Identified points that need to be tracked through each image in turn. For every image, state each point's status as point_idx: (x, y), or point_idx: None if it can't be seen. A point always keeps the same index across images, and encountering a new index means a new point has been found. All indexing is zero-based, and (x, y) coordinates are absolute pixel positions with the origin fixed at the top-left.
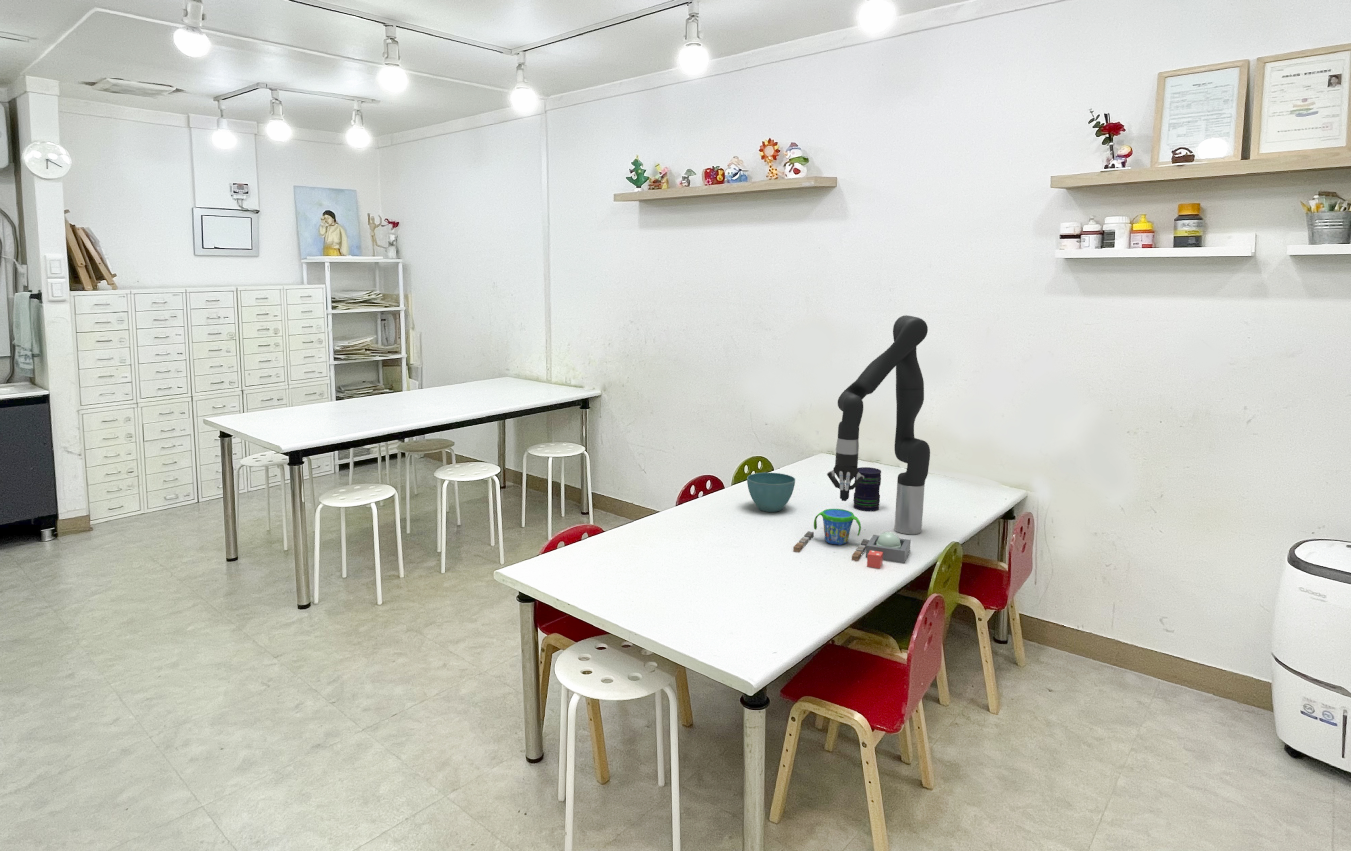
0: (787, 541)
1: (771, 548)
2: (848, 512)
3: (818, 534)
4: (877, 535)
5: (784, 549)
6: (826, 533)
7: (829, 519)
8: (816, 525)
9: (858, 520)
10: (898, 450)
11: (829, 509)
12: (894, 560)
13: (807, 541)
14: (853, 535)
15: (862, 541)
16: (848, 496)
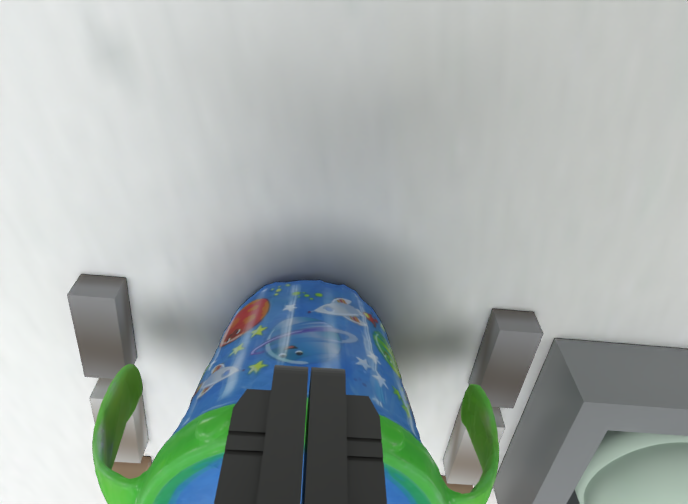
0: (21, 404)
1: (7, 499)
2: (392, 479)
3: (143, 229)
4: (611, 408)
5: (73, 494)
6: None
7: None
8: (126, 384)
9: (486, 500)
10: None
11: (181, 473)
12: None
13: (139, 408)
14: (419, 164)
15: (489, 373)
16: (374, 446)
